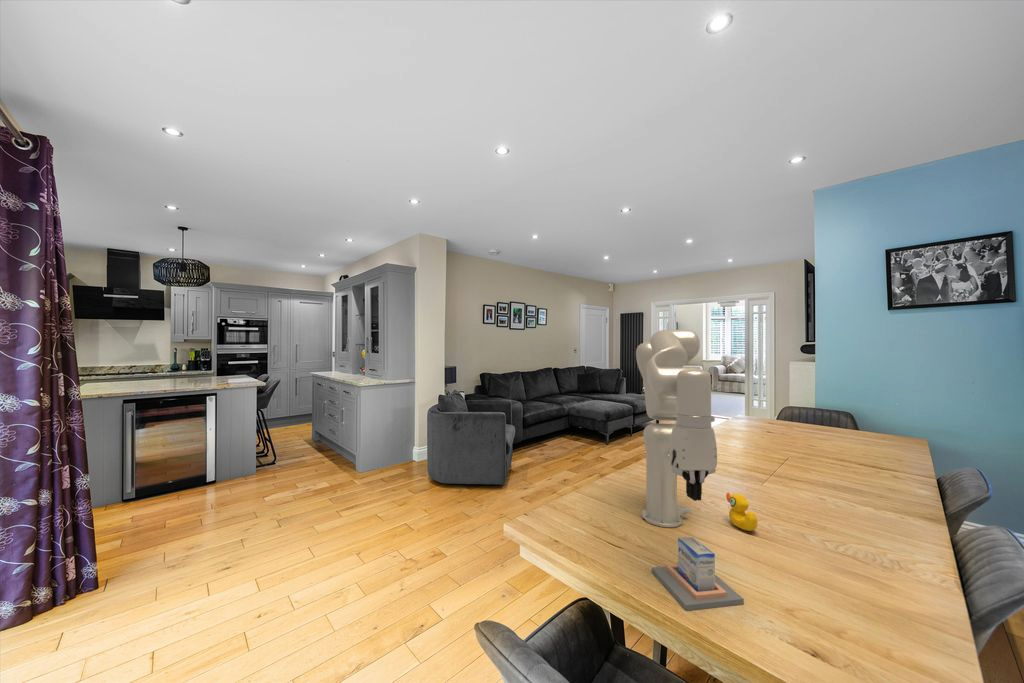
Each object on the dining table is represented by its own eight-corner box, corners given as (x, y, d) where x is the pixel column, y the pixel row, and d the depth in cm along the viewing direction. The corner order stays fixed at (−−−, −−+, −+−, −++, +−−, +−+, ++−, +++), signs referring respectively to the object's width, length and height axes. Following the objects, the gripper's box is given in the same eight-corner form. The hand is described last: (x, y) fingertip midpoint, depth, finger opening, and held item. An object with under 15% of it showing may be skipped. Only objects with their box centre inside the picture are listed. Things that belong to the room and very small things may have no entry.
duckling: (720, 519, 123) (719, 489, 123) (734, 518, 124) (734, 488, 124) (747, 536, 111) (746, 503, 112) (762, 535, 112) (762, 502, 113)
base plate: (701, 567, 95) (701, 558, 95) (743, 604, 81) (743, 594, 82) (651, 572, 93) (651, 563, 93) (686, 610, 79) (686, 600, 79)
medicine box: (676, 572, 91) (676, 537, 91) (693, 571, 92) (692, 535, 92) (698, 593, 83) (697, 554, 83) (715, 591, 84) (715, 553, 84)
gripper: (710, 417, 93) (711, 490, 93) (656, 419, 91) (656, 494, 91) (733, 423, 86) (733, 503, 85) (674, 425, 83) (674, 507, 83)
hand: (693, 498), depth 88 cm, fingers closed
